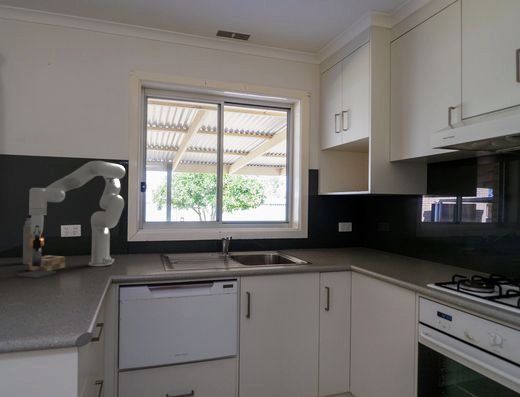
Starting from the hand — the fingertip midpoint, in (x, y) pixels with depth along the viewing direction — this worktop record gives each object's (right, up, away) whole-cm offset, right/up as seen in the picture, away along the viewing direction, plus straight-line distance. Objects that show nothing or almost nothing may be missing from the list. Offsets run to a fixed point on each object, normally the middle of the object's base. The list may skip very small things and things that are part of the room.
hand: (37, 246), depth 174 cm
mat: (0, -14, 0) cm, 14 cm away
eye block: (-4, -14, +15) cm, 21 cm away
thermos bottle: (-22, -14, +28) cm, 39 cm away
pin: (0, -10, 0) cm, 10 cm away
